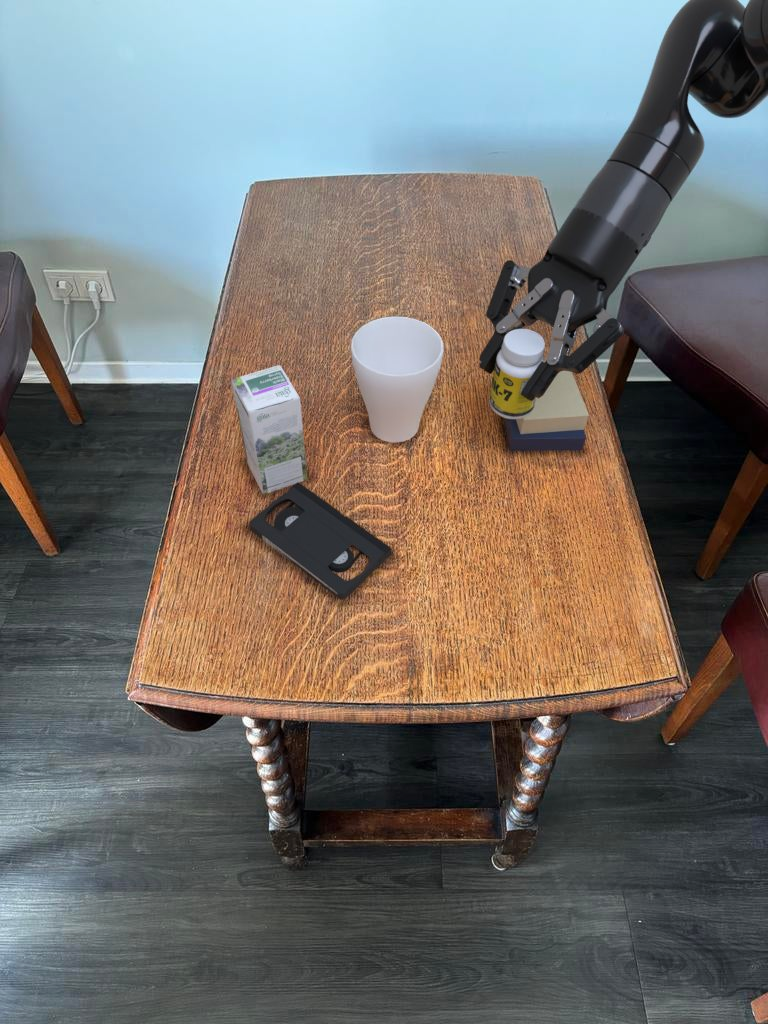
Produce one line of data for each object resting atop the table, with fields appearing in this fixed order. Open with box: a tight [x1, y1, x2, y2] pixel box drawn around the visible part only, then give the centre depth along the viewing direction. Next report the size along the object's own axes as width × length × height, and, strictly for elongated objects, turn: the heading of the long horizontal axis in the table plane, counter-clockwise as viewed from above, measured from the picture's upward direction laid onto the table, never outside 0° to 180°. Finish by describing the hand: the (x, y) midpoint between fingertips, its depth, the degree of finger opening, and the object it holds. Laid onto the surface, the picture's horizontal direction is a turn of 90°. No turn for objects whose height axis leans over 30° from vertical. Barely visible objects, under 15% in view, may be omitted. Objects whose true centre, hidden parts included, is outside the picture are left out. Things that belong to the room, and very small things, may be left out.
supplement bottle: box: [488, 328, 546, 419], centre depth 73 cm, size 5×5×8 cm
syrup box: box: [230, 364, 308, 495], centre depth 81 cm, size 6×6×14 cm
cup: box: [350, 315, 444, 444], centre depth 87 cm, size 10×10×14 cm
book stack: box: [503, 359, 590, 452], centre depth 91 cm, size 12×9×6 cm
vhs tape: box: [249, 482, 392, 601], centre depth 80 cm, size 14×8×2 cm, turn 49°
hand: (505, 383), depth 72 cm, fingers closed on supplement bottle, 4 cm apart
